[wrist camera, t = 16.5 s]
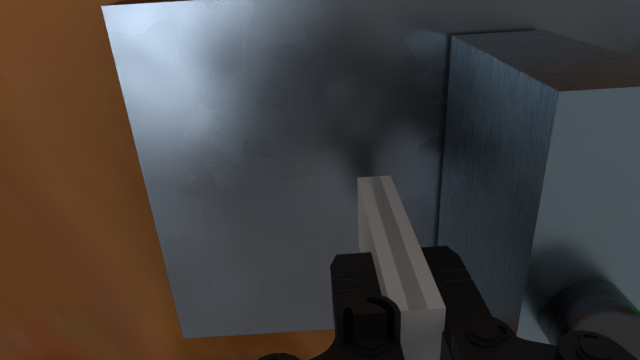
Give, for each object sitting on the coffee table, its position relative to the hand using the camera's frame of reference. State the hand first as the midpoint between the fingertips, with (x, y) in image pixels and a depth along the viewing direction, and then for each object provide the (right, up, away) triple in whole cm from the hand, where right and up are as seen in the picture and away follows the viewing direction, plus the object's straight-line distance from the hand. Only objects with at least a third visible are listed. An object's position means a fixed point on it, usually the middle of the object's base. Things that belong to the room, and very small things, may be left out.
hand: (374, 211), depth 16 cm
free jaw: (+4, +1, +1) cm, 5 cm away
